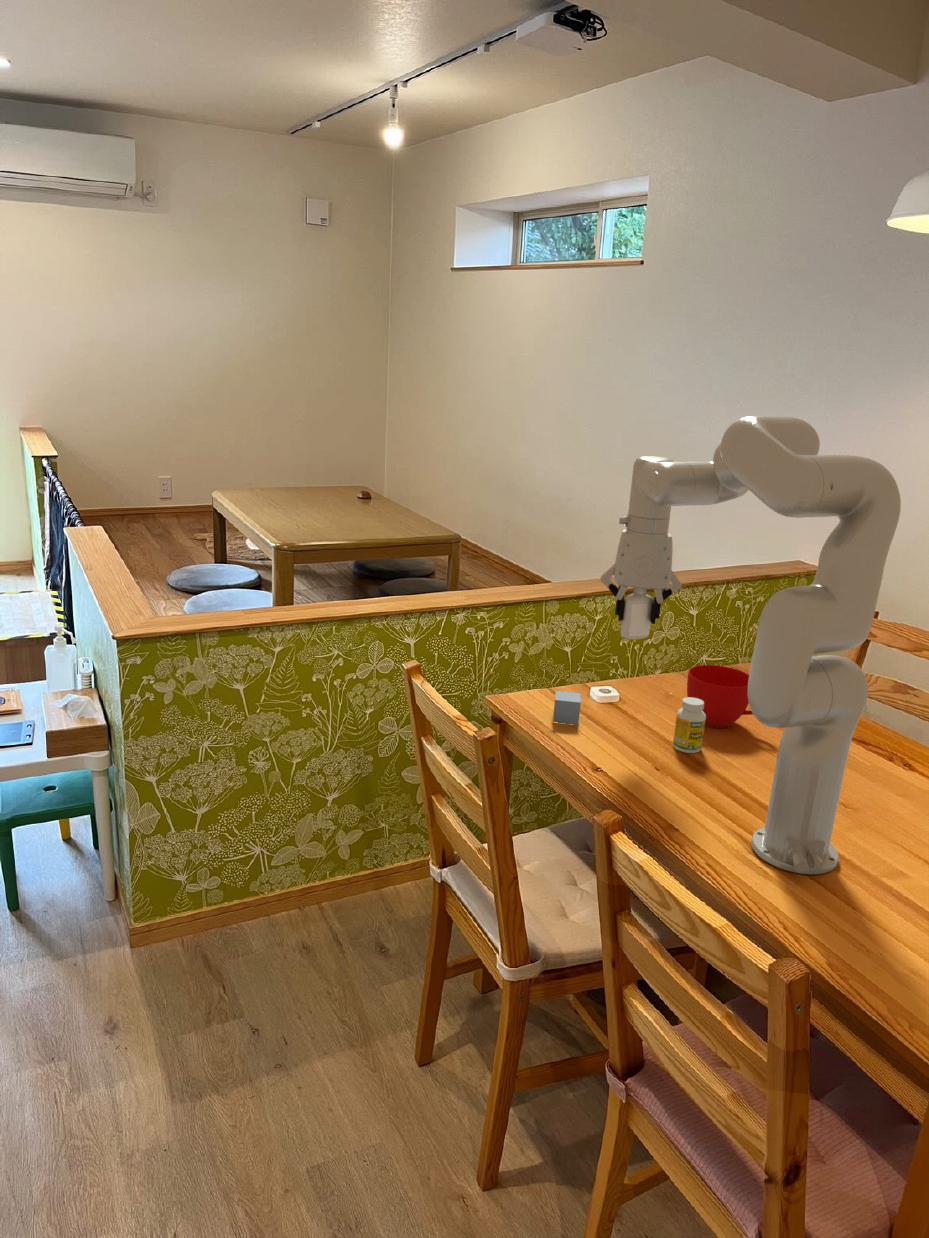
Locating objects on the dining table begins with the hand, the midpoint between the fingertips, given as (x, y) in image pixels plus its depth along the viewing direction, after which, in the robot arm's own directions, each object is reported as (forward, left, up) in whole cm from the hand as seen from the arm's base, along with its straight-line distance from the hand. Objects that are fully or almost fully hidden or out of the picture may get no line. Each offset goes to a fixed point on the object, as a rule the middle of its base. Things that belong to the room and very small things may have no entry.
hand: (636, 619), depth 178 cm
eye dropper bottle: (0, 0, -4) cm, 4 cm away
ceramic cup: (+10, -21, -23) cm, 33 cm away
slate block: (+4, +11, -23) cm, 26 cm away
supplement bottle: (-4, -12, -23) cm, 27 cm away
